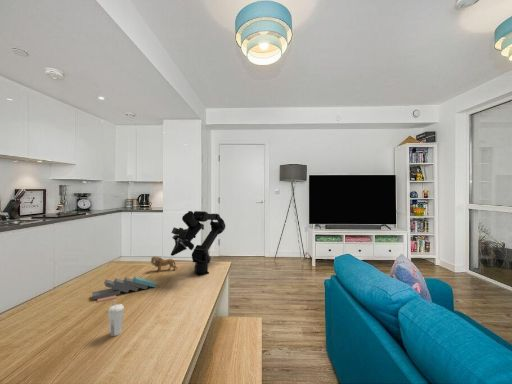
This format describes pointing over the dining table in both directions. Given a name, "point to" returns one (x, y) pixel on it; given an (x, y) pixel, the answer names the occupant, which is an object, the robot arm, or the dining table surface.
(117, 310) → the milkshake
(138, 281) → the domino
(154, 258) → the lion figurine
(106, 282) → the domino
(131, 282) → the domino
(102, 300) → the strip
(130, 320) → the dining table surface
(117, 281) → the domino
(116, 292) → the domino
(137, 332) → the dining table surface
